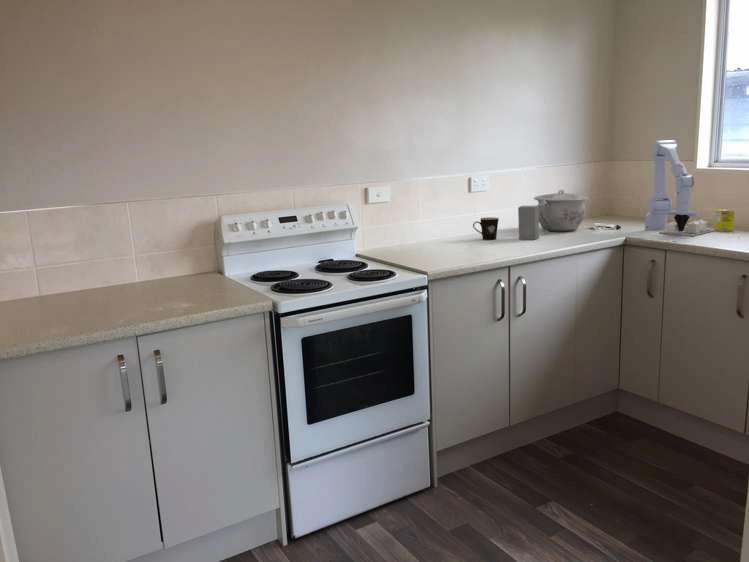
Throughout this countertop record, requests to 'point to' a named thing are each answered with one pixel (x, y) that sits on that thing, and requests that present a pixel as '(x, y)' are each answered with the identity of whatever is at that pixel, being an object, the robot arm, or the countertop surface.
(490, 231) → the coffee mug
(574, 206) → the chamber pot
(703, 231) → the switch board
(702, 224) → the tab
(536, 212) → the skincare box
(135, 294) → the countertop surface
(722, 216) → the supplement box
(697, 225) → the beige block
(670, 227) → the tab
